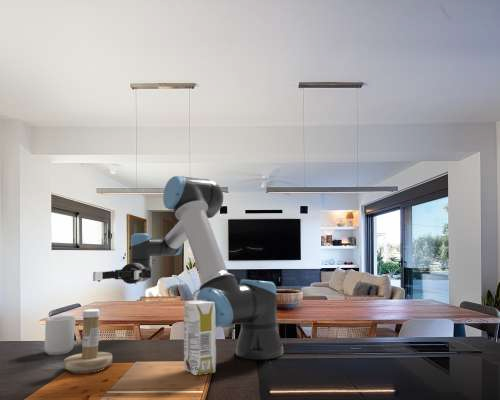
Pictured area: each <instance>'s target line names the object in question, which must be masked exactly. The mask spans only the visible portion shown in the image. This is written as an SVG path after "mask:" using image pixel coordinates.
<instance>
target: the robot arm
mask: <svg viewBox="0 0 500 400" xmlns="http://www.w3.org/2000/svg"><path fill="white" fill-rule="evenodd" d="M162 201H163V205H164V207H165V208H166V209H168V210H169V211H170V210H171V211H173V213H174V215H175V216H174V217H175V218H176V219H177V220H178V222H177V223H176V224H175V225H174V227H172V229H170V231H169V232H168V233H167V234H166V235H165V236H164V237H158V238H157V237H151V236H150V233H145V232H144V233H143V232H140V233H138V232H137V233H134V234H132V235H131V236H130V237H131V238H130V263H127V264H125V265H124V266H123V267H122V268H120V269H115V270H110V271H94V272H92V281H93V282H96V281H97V282H99V283H100V282H101V281H103V280H110V279H114V280H122V281H123V282H124V283H126V284H128V285H129V284H131V285H132V284H133V285H137V284H138V283H140V282H146V281H147V280H148V279H151V278H152V274H153V269H152V266H151V257H174V256H178V255H180V254H181V253H182V251H183V245H184V243H185V242H187V241H188V244H189V247H190V249H191V252H192V256H193V259H194V262H195V266H196V267H197V268H196V269H197V271H198V274H199V278H200V279H201V284H200V286H199V292H198V294H197V296H196V300H207V301H209V302H214V303H215V311H216V328H226V327H228V326H233V325H240V331H239V335H238V338H237V343H236V345H235V346H236V347H235V355H236V356H237V357H239V358H242V359H245V360H246V359H247V360H271V359H276V358H279V357H281V356H283V354H284V346H283V343H282V339H281V336H280V334H279V331H278V317H277V315H278V311H277V309H278V306H277V305H278V303H277V299H278V298H277V297H278V293H277V287H276V284H275V283H274V282H273V281H266V280H265V281H264V280H256V279H255V280H254V279H253V280H251V279H241V280H240V282H239V284H238V282H237V279H236V277H235V274H232V273H230V272H229V271H228V268H227V267H226V262H225V261H224V258H223V255H222V253H221V251H220V247H219V245H218V242H217V239H216V236H215V234H214V231H213V228H212V226H211V223H210V221H209V219H211V218H213V217H215V216H216V215H217V214H218V212H219V211H220V210H221V208H222V206H223V202H224V194H223V190H222V188H221V186H220V185H219V184H218V183H216V182H215V181H214V180H212V179H208V178H207V179H206V178H199V177H191V176H185V175H181V176H179V175H178V176H177V175H176V176H175V175H174V176H172V177H170V178H169V179H168V181H167V182H166V185H165V186H164V190H163V196H162Z"/></svg>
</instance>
